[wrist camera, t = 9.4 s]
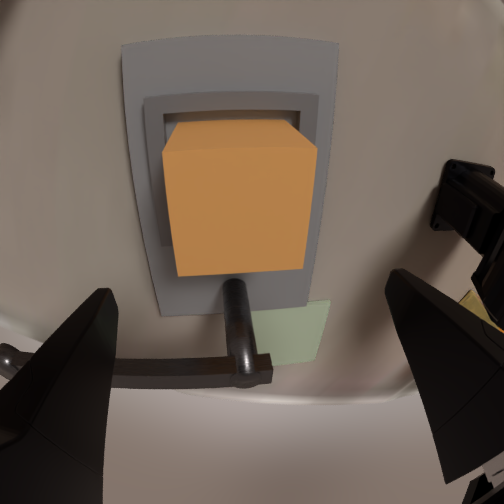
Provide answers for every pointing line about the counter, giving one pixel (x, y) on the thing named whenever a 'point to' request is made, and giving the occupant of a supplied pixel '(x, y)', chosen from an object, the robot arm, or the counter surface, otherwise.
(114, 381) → the black knob lever
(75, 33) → the counter surface
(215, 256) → the orange cube
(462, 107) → the counter surface
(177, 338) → the counter surface
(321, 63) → the socket plate
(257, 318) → the pad
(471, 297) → the candy box
